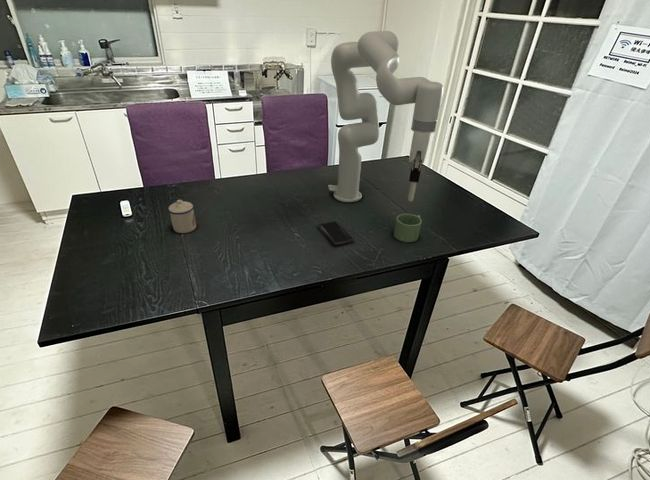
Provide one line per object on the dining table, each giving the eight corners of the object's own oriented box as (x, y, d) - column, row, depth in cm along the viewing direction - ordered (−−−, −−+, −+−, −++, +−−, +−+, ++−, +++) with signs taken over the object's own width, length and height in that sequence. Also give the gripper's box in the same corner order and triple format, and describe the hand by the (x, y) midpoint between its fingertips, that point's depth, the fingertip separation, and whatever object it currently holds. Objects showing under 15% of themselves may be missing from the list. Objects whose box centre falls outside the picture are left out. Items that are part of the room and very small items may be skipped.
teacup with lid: (199, 230, 146) (194, 202, 139) (175, 236, 142) (169, 208, 135) (191, 217, 154) (186, 190, 147) (169, 222, 151) (162, 195, 144)
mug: (409, 245, 139) (412, 228, 135) (388, 235, 144) (391, 219, 140) (427, 233, 146) (430, 217, 141) (407, 224, 151) (410, 208, 147)
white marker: (407, 200, 135) (414, 161, 126) (407, 198, 136) (414, 158, 128) (413, 201, 134) (420, 161, 126) (413, 199, 136) (420, 159, 127)
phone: (334, 243, 137) (318, 224, 148) (333, 246, 137) (318, 226, 148) (353, 239, 139) (336, 220, 150) (353, 242, 140) (336, 223, 151)
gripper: (413, 117, 127) (404, 170, 138) (409, 131, 115) (400, 188, 125) (436, 119, 125) (426, 173, 136) (435, 133, 113) (424, 190, 124)
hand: (414, 179), depth 131 cm, fingers closed on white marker, 2 cm apart
